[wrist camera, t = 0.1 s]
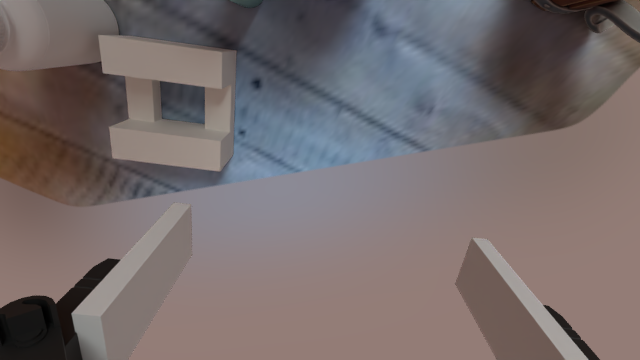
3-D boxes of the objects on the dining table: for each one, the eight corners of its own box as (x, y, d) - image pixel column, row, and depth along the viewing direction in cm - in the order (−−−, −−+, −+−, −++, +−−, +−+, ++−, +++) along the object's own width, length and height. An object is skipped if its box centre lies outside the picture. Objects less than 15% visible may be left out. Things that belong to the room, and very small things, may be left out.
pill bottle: (77, 73, 39) (-55, 91, 26) (34, 2, 36) (-143, -23, 23) (135, 49, 38) (29, 53, 24) (95, -27, 35) (-51, -70, 22)
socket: (131, 35, 38) (98, 34, 32) (236, 50, 38) (222, 52, 33) (139, 143, 43) (112, 158, 37) (233, 154, 43) (220, 171, 38)
